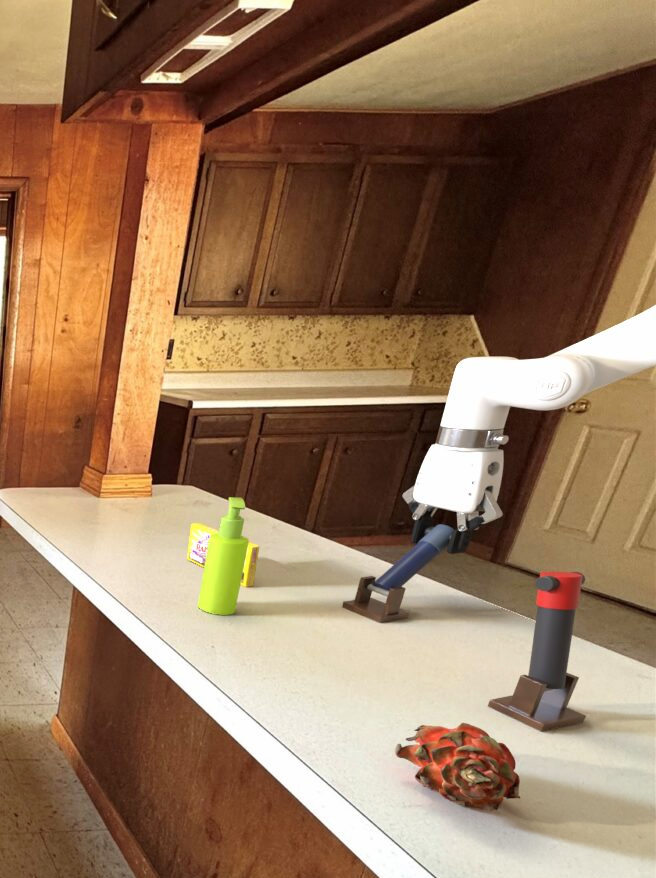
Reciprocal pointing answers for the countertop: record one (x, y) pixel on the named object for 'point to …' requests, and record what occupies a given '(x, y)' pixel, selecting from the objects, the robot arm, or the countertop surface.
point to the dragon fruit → (463, 765)
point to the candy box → (200, 546)
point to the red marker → (554, 626)
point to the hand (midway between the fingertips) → (437, 546)
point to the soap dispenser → (224, 563)
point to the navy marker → (414, 559)
